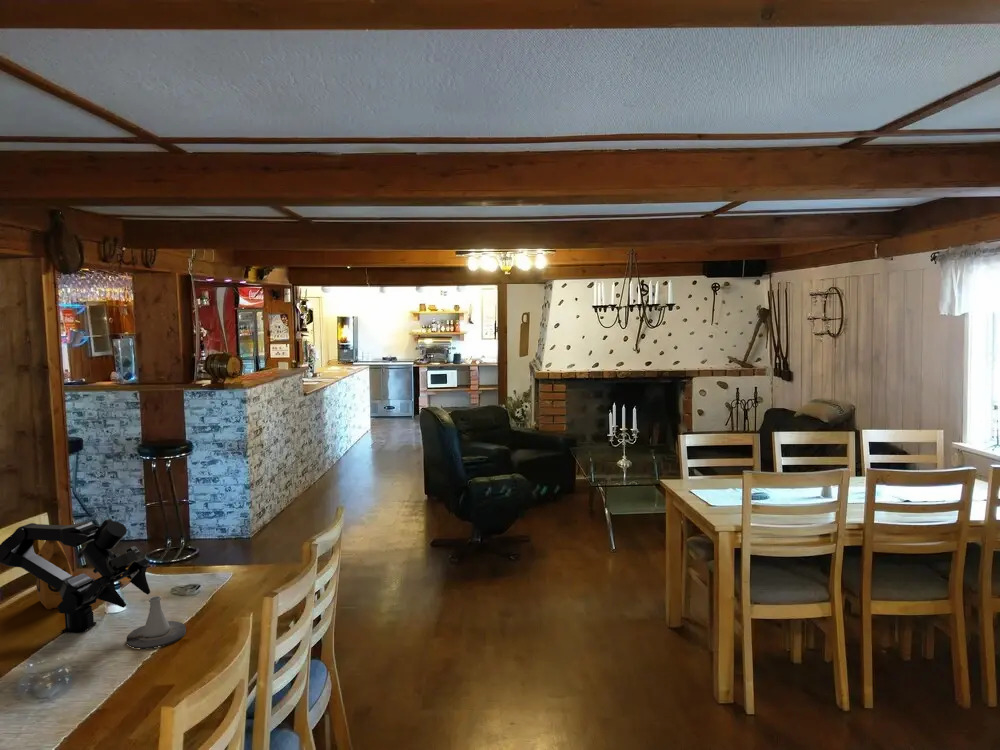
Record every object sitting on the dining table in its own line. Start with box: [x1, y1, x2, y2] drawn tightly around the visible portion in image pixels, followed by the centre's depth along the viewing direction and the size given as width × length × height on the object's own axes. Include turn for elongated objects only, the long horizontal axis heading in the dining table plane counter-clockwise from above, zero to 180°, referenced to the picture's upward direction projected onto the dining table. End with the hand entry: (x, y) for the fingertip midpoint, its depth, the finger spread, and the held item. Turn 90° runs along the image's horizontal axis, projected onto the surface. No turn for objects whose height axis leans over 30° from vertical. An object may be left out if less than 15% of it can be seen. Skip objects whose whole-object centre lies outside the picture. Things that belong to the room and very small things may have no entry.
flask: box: [143, 595, 170, 637], centre depth 194 cm, size 7×7×10 cm
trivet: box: [126, 620, 187, 650], centre depth 194 cm, size 15×15×1 cm
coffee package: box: [35, 540, 74, 610], centre depth 218 cm, size 10×12×22 cm
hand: (137, 599), depth 195 cm, fingers open, 9 cm apart
